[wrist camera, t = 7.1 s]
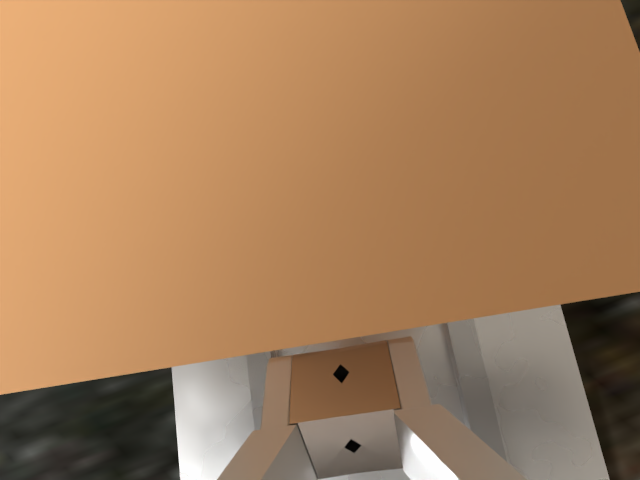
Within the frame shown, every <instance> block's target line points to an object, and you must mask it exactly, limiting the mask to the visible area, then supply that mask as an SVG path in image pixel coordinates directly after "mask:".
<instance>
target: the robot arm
mask: <svg viewBox="0 0 640 480" xmlns="http://www.w3.org/2000/svg"><path fill="white" fill-rule="evenodd" d="M401 468H403V470H404V472H405V473H406V474H407V476H408V477H409V478H410V479H411V480H527V479H526V478H525V477H524V476H522V475H521V474H520V473H519V472H518V471H517V470H516V469H514V468H513V467H512V466H511V465H510V464H509V463H508V462H506V461H505V460H504V459H503V458H502V457H501V456H500V455H498V454H497V453H496V452H495V451H494V450H493V449H492V448H490V447H489V446H488V445H487V444H486V443H485V442H483V441H482V440H481V439H480V438H479V437H478V436H477V435H475V434H474V433H473V432H472V431H471V430H470V429H469V428H467V427H466V426H465V425H464V424H463V423H462V422H461V421H459V420H458V419H457V418H456V417H455V416H454V415H452V414H451V413H450V412H449V411H448V410H447V409H446V408H444V407H443V406H442V405H441V404H435V405H432V402H431V398H430V395H429V391H428V388H427V384H426V381H425V377H424V374H423V370H422V367H421V363H420V360H419V356H418V353H417V349H416V346H415V342H414V339H413V338H412V337H411V336H409V337H403V338H397V339H391V340H387V341H386V340H384V341H378V342H372V343H366V344H360V345H354V346H349V347H343V348H340V349H333V350H325V351H317V352H310V353H302V354H295V355H290V356H283V357H275V358H270V359H269V361H268V364H267V369H266V378H265V387H264V396H263V406H262V415H261V424H260V430H254V431H252V432H251V434H250V435H249V436H248V438H247V439H246V440H245V442H244V443H243V445H242V446H241V447H240V449H239V450H238V451H237V453H236V454H235V455H234V457H233V458H232V459H231V461H230V462H229V464H228V465H227V466H226V468H225V469H224V470H223V472H222V473H221V474H220V476H219V477H218V479H217V480H318V479H324V478H330V477H337V476H343V475H349V474H355V473H363V472H372V471H382V470H392V469H401Z"/></svg>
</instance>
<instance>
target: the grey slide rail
mask: <svg viewBox="0 0 640 480" xmlns="http://www.w3.org/2000/svg"><path fill="white" fill-rule="evenodd" d="M409 336H411V337H412V338H413V339H414V342H415V346H416V349H417V353H418V356H419V360H420V363H421V367H422V370H423V374H424V377H425V381H426V384H427V388H428V391H429V395H430V398H431V402H432V405H435V404H441V405H442V406H443V407H444V408H446V409H447V410H448V411H449V412H450V413H451V414H452V415H454V416H455V417H456V418H457V419H458V420H459V421H461V422H462V423H463V424H464V425H465V426H466V427H467V428H469V429H470V430H471V431H472V432H473V433H474V434H475V435H477V436H478V437H479V438H480V439H481V440H482V441H483V442H485V443H486V444H487V445H488V446H489V447H490V448H492V449H493V450H494V451H495V452H496V453H497V454H498V455H500V456H501V457H502V458H503V459H504V460H505V461H506V462H508V463H509V464H510V465H511V466H512V467H513V468H514V469H516V470H517V471H518V472H519V473H520V474H521V475H522V476H524V477H525V478H526V479H527V480H610V479H609V475H608V472H607V468H606V465H605V461H604V458H603V454H602V451H601V447H600V444H599V440H598V436H597V433H596V429H595V426H594V422H593V419H592V415H591V412H590V408H589V404H588V401H587V397H586V394H585V390H584V387H583V383H582V380H581V376H580V373H579V369H578V365H577V362H576V358H575V355H574V351H573V348H572V344H571V341H570V337H569V333H568V330H567V326H566V323H565V319H564V316H563V312H562V309H561V305H554V306H547V307H541V308H535V309H529V310H523V311H516V312H510V313H504V314H498V315H491V316H485V317H479V318H473V319H467V320H460V321H454V322H448V323H442V324H436V325H429V326H423V327H417V328H411V329H405V330H398V331H392V332H386V333H380V334H374V335H367V336H361V337H355V338H349V339H342V340H336V341H330V342H324V343H318V344H311V345H305V346H299V347H293V348H287V349H280V350H274V351H268V352H262V353H256V354H249V355H243V356H237V357H231V358H225V359H218V360H212V361H206V362H200V363H193V364H187V365H181V366H175V367H172V377H173V390H174V403H175V416H176V429H177V442H178V455H179V468H180V480H217V479H218V477H219V476H220V474H221V473H222V472H223V470H224V469H225V468H226V466H227V465H228V464H229V462H230V461H231V459H232V458H233V457H234V455H235V454H236V453H237V451H238V450H239V449H240V447H241V446H242V445H243V443H244V442H245V440H246V439H247V438H248V436H249V435H250V434H251V432H252V431H254V430H260V424H261V415H262V406H263V396H264V387H265V378H266V369H267V364H268V361H269V359H270V358H275V357H283V356H290V355H295V354H302V353H310V352H317V351H325V350H333V349H340V348H343V347H349V346H354V345H360V344H366V343H372V342H378V341H384V340H386V341H387V340H391V339H397V338H403V337H409ZM318 480H411V479H410V478H409V477H408V476H407V474H406V473H405V472H404V470H403V468H401V469H392V470H382V471H372V472H363V473H355V474H349V475H343V476H337V477H330V478H324V479H318Z"/></svg>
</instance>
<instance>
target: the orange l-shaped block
mask: <svg viewBox="0 0 640 480" xmlns="http://www.w3.org/2000/svg"><path fill="white" fill-rule="evenodd" d="M634 292H640V52H639V49H638V46H637V44H636V41H635V38H634V35H633V33H632V30H631V27H630V25H629V22H628V19H627V17H626V14H625V11H624V9H623V6H622V3H621V0H0V395H1V394H7V393H13V392H20V391H26V390H32V389H38V388H44V387H51V386H57V385H63V384H69V383H76V382H82V381H88V380H94V379H100V378H107V377H113V376H119V375H125V374H131V373H138V372H144V371H150V370H156V369H162V368H169V367H175V366H181V365H187V364H193V363H200V362H206V361H212V360H218V359H225V358H231V357H237V356H243V355H249V354H256V353H262V352H268V351H274V350H280V349H287V348H293V347H299V346H305V345H311V344H318V343H324V342H330V341H336V340H342V339H349V338H355V337H361V336H367V335H374V334H380V333H386V332H392V331H398V330H405V329H411V328H417V327H423V326H429V325H436V324H442V323H448V322H454V321H460V320H467V319H473V318H479V317H485V316H491V315H498V314H504V313H510V312H516V311H523V310H529V309H535V308H541V307H547V306H554V305H560V304H566V303H572V302H578V301H585V300H591V299H597V298H603V297H609V296H616V295H622V294H628V293H634Z"/></svg>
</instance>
